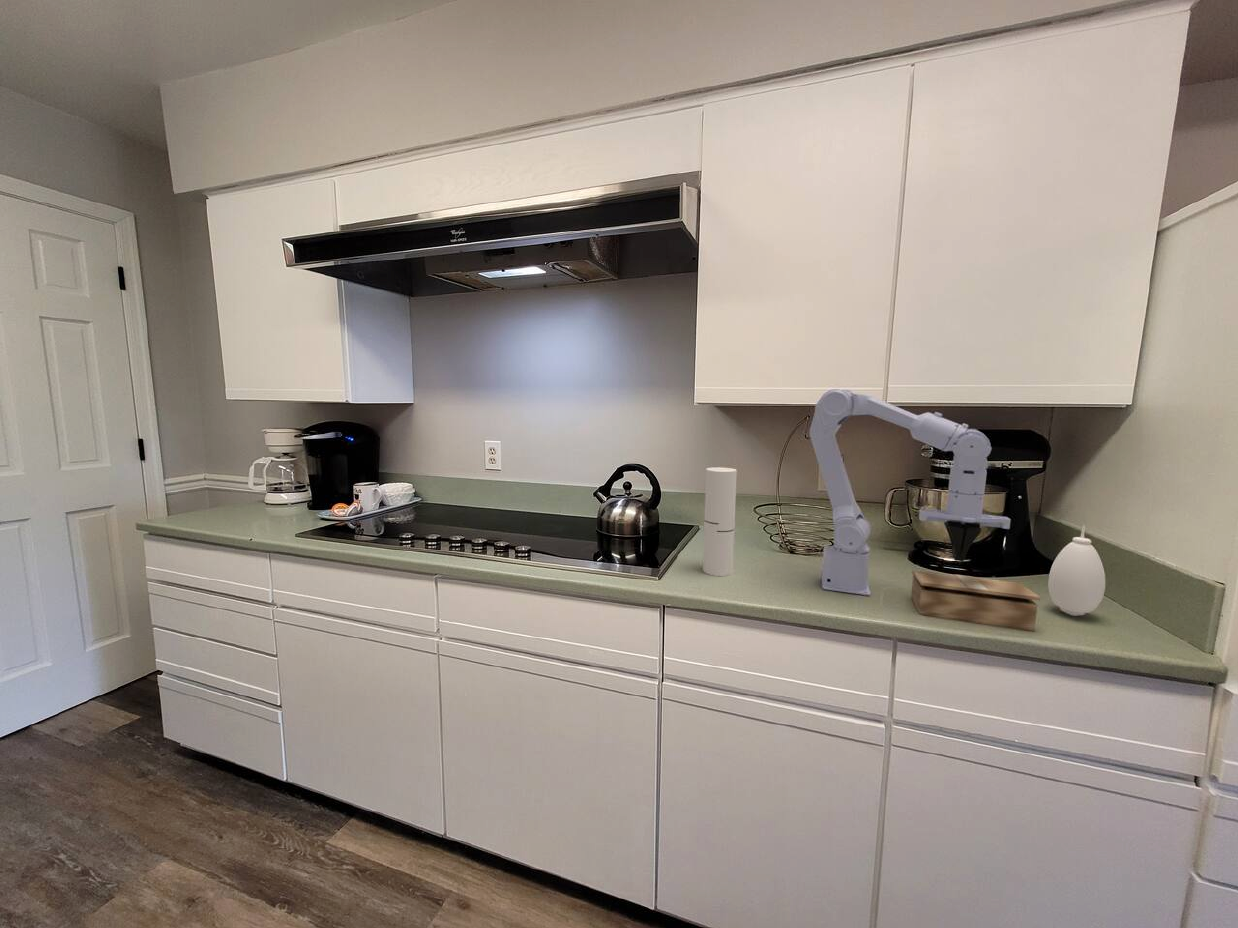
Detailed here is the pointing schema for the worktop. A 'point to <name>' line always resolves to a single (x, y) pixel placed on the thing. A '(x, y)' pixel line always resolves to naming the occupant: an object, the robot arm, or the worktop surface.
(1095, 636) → the worktop surface
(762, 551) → the worktop surface
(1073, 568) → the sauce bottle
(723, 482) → the cylindrical container
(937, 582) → the lid
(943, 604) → the box
